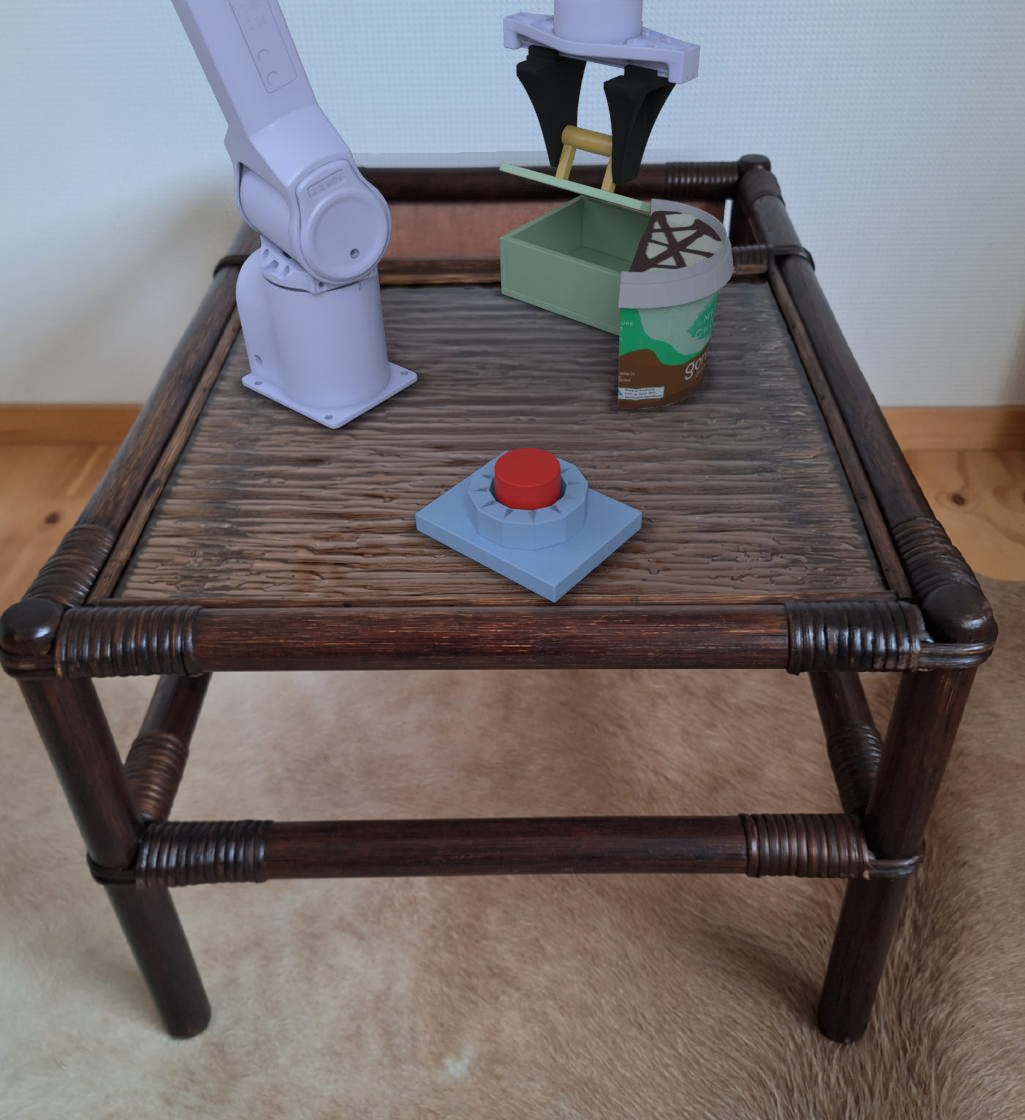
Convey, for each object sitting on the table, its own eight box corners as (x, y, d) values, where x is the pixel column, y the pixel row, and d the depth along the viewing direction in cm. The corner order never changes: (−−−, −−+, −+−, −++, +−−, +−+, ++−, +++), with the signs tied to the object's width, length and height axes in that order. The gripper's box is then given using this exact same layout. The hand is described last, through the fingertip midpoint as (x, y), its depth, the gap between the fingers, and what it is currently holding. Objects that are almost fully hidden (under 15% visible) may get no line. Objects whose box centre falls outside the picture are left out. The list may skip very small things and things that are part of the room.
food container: (709, 431, 68) (725, 285, 61) (613, 420, 69) (619, 275, 63) (729, 338, 77) (746, 202, 71) (644, 329, 78) (653, 195, 72)
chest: (630, 340, 77) (633, 280, 74) (501, 293, 83) (499, 237, 80) (706, 288, 83) (712, 231, 80) (580, 248, 89) (581, 194, 86)
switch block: (416, 530, 61) (411, 487, 59) (506, 465, 66) (504, 424, 64) (554, 603, 56) (554, 560, 54) (641, 528, 61) (644, 485, 59)
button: (481, 495, 59) (480, 469, 58) (523, 465, 61) (522, 440, 60) (532, 520, 57) (532, 494, 56) (573, 488, 59) (574, 462, 58)
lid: (639, 210, 71) (658, 144, 70) (498, 170, 77) (514, 109, 76) (711, 231, 80) (729, 173, 79) (580, 193, 86) (595, 139, 85)
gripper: (734, -44, 66) (712, 177, 74) (548, -69, 73) (548, 134, 82) (670, -22, 62) (654, 209, 70) (479, -51, 69) (487, 161, 78)
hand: (593, 171), depth 76 cm, fingers closed on lid, 5 cm apart
